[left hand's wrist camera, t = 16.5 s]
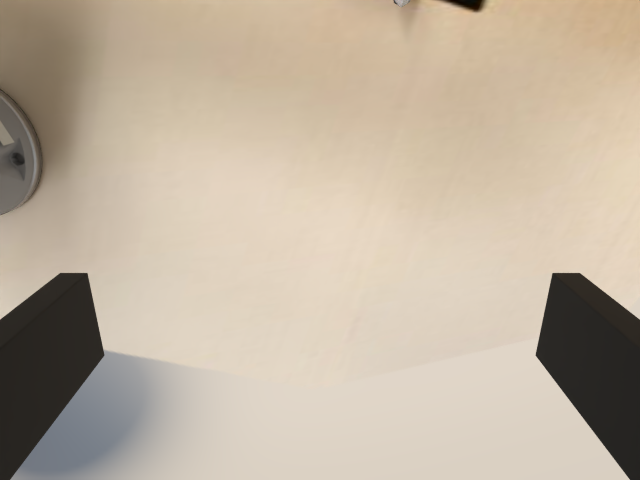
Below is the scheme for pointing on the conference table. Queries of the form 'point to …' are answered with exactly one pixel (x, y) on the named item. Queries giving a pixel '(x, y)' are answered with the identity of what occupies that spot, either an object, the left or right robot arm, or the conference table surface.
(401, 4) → the fish
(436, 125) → the conference table surface
